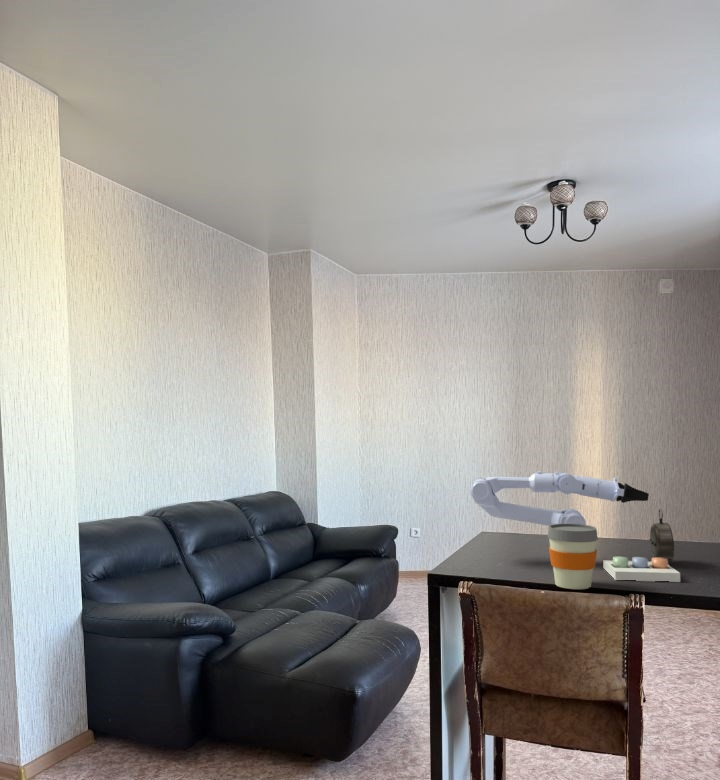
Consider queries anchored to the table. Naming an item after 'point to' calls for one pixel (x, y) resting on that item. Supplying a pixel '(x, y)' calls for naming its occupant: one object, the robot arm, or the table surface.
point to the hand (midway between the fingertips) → (645, 496)
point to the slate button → (639, 562)
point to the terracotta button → (659, 563)
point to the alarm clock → (662, 540)
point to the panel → (641, 573)
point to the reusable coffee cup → (572, 554)
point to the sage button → (620, 562)
